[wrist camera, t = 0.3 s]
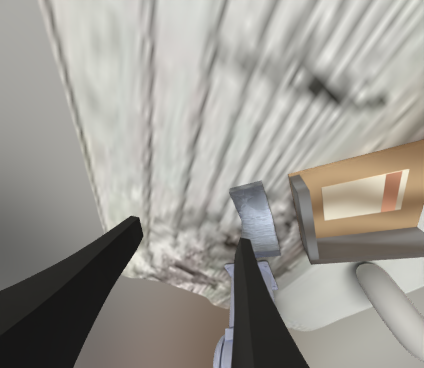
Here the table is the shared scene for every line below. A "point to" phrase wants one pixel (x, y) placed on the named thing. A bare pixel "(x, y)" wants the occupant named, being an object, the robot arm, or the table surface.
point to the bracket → (256, 218)
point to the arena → (362, 206)
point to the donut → (393, 308)
